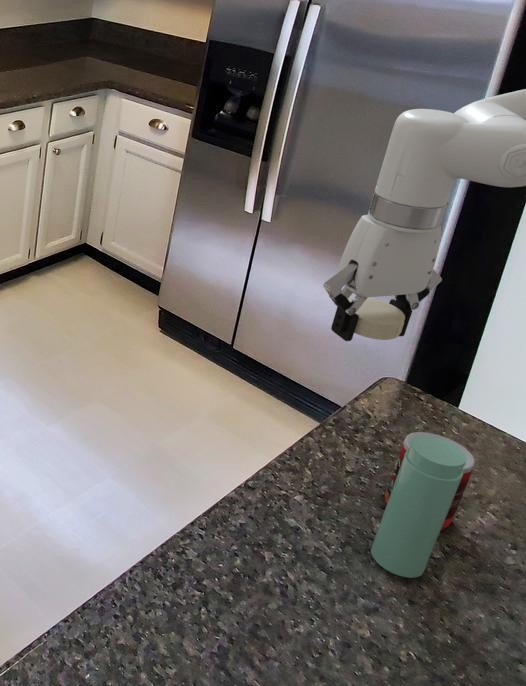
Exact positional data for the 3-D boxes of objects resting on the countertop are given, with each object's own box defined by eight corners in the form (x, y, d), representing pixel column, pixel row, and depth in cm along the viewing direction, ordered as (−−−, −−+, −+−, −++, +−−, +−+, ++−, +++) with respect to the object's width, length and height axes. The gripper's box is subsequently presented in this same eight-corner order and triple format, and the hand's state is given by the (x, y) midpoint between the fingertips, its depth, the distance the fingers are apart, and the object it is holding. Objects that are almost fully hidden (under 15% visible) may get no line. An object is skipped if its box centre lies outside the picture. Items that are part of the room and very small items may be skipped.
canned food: (382, 485, 116) (404, 424, 112) (448, 505, 112) (473, 443, 108) (382, 518, 110) (404, 456, 106) (451, 541, 107) (478, 477, 102)
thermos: (409, 543, 106) (451, 436, 99) (433, 580, 101) (479, 469, 93) (362, 540, 107) (400, 432, 99) (383, 576, 101) (425, 465, 94)
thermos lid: (364, 342, 102) (369, 326, 101) (327, 314, 108) (332, 299, 107) (412, 337, 103) (418, 321, 102) (373, 310, 109) (378, 295, 108)
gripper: (443, 195, 103) (403, 314, 110) (321, 203, 100) (289, 324, 108) (493, 218, 96) (447, 343, 104) (364, 227, 94) (326, 354, 101)
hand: (367, 332), depth 106 cm, fingers closed on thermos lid, 7 cm apart
